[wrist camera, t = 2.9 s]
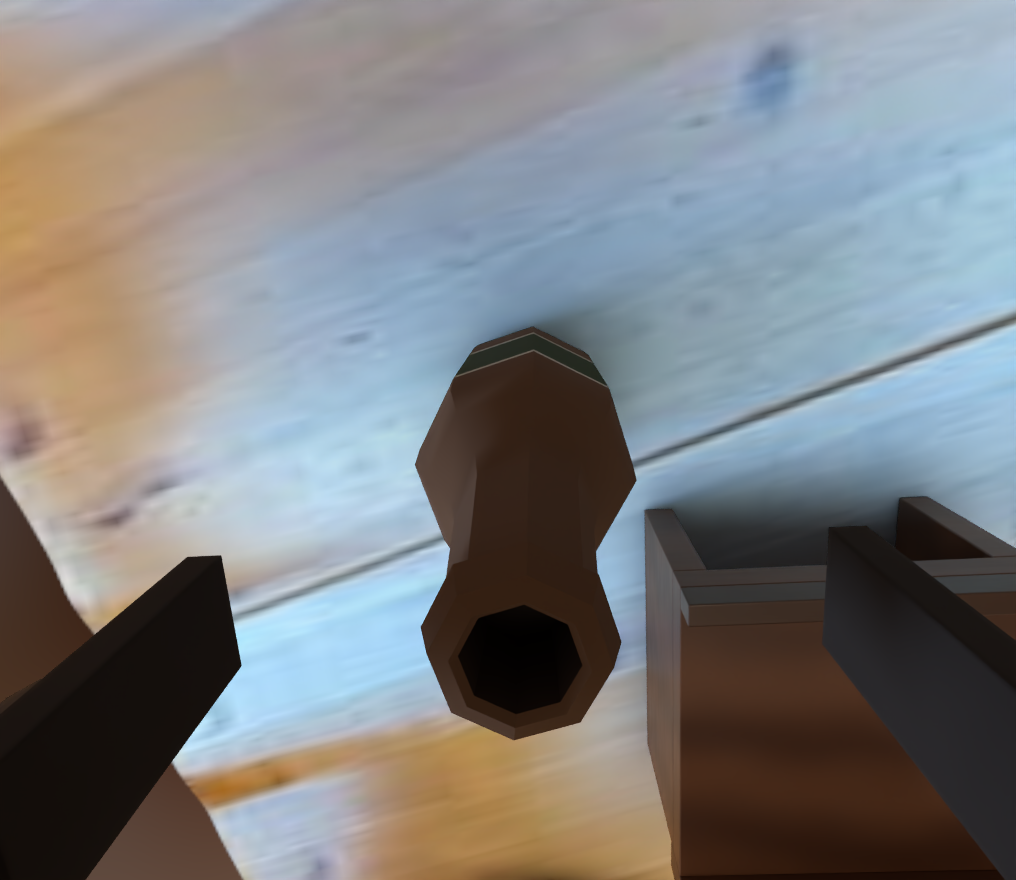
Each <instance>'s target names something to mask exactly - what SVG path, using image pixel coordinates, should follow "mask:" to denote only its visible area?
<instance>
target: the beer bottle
mask: <svg viewBox="0 0 1016 880" xmlns="http://www.w3.org/2000/svg"><path fill="white" fill-rule="evenodd" d="M415 466H416V469H417V471H418V474H419V477H420V479H421V482H422V484H423V487H424V489H425V492H426V494H427V497H428V499H429V502H430V505H431V507H432V510H433V512H434V515H435V517H436V520H437V522H438V525H439V528H440V530H441V533H442V535H443V538H444V540H445V541H446V543H447V544H448V546H449V547H450V553H449V560H448V568H447V575H446V579H445V581H444V583H443V585H442V587H441V589H440V590H439V592H438V594H437V596H436V598H435V600H434V602H433V604H432V606H431V608H430V610H429V612H428V614H427V616H426V618H425V620H424V622H423V624H422V626H421V631H422V635H423V640H424V644H425V649H426V653H427V656H428V658H429V661H430V663H431V665H432V668H433V670H434V672H435V675H436V677H437V680H438V682H439V684H440V687H441V689H442V692H443V694H444V696H445V699H446V701H447V704H448V706H449V708H450V711H451V713H453V714H456V715H458V716H460V717H462V718H465V719H467V720H469V721H471V722H474V723H476V724H478V725H481V726H483V727H485V728H487V729H490V730H492V731H494V732H496V733H499V734H501V735H503V736H505V737H508V738H510V739H512V740H517V739H520V738H524V737H528V736H532V735H535V734H539V733H543V732H547V731H550V730H554V729H558V728H562V727H565V726H569V725H573V724H576V723H580V722H581V721H582V719H583V717H584V716H585V714H586V712H587V711H588V709H589V708H590V706H591V704H592V703H593V701H594V699H595V698H596V696H597V695H598V693H599V691H600V690H601V688H602V686H603V685H604V683H605V681H606V680H607V678H608V677H609V675H610V673H611V672H612V670H613V668H614V666H615V662H616V659H617V655H618V652H619V649H620V645H621V639H620V636H619V633H618V630H617V627H616V624H615V622H614V619H613V616H612V613H611V610H610V607H609V604H608V601H607V598H606V595H605V592H604V589H603V586H602V583H601V580H600V577H599V575H598V573H597V560H596V550H597V549H598V547H599V545H600V543H601V542H602V540H603V538H604V536H605V535H606V533H607V531H608V530H609V528H610V526H611V524H612V523H613V521H614V519H615V517H616V516H617V514H618V512H619V510H620V509H621V507H622V505H623V503H624V502H625V500H626V498H627V496H628V495H629V493H630V491H631V489H632V488H633V486H634V484H635V482H636V481H637V480H636V476H635V472H634V468H633V464H632V461H631V458H630V455H629V451H628V448H627V445H626V442H625V438H624V435H623V432H622V429H621V425H620V422H619V419H618V416H617V412H616V409H615V406H614V403H613V399H612V396H611V393H610V390H609V387H608V386H607V384H606V383H605V381H604V379H603V378H602V376H601V375H600V373H599V371H598V370H597V368H596V367H595V365H594V363H593V362H592V360H591V359H590V357H589V355H587V354H586V353H585V352H583V351H581V350H579V349H577V348H575V347H573V346H571V345H569V344H567V343H565V342H563V341H561V340H559V339H557V338H555V337H553V336H551V335H549V334H547V333H545V332H543V331H541V330H539V329H537V328H535V327H533V326H532V327H530V328H527V329H524V330H521V331H518V332H515V333H512V334H509V335H506V336H503V337H500V338H497V339H494V340H491V341H489V342H486V343H483V344H480V345H478V346H476V347H475V348H474V349H473V350H472V352H471V353H470V355H469V356H468V358H467V359H466V361H465V362H464V364H463V365H462V367H461V368H460V370H459V371H458V372H457V374H456V375H455V377H454V379H453V381H452V383H451V385H450V387H449V389H448V391H447V393H446V395H445V398H444V400H443V402H442V404H441V406H440V408H439V410H438V412H437V414H436V417H435V419H434V421H433V423H432V425H431V427H430V429H429V431H428V433H427V436H426V438H425V440H424V442H423V444H422V446H421V448H420V450H419V454H418V457H417V460H416V463H415Z"/></svg>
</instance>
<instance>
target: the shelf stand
mask: <svg viewBox="0 0 1016 880" xmlns="http://www.w3.org/2000/svg"><path fill="white" fill-rule="evenodd" d="M895 548H896V549H897V550H899V551H900V552H901V553H902V554H904V555H905V556H906V557H908V558H909V559H910V560H912V561H913V562H914V563H915V564H917V565H918V566H919V567H921V568H922V569H923V570H925V571H926V572H927V573H928V574H930V575H931V576H932V577H934V578H935V579H936V580H938V581H939V582H940V583H942V584H943V585H944V586H945V587H947V588H948V589H949V590H951V591H952V592H953V593H955V594H956V595H957V596H958V597H960V598H961V599H962V600H964V601H965V602H966V603H968V604H969V605H970V606H971V607H973V608H974V609H975V610H977V611H978V612H979V613H981V614H982V615H983V616H985V617H986V618H987V619H988V620H990V621H991V622H992V623H994V624H995V625H996V626H998V627H999V628H1000V629H1001V630H1003V631H1004V632H1005V633H1007V634H1008V635H1009V636H1011V637H1012V638H1013V639H1014V640H1016V548H1014V547H1013V546H1011V545H1009V544H1007V543H1006V542H1004V541H1002V540H1001V539H999V538H997V537H995V536H994V535H992V534H990V533H989V532H987V531H985V530H984V529H982V528H980V527H978V526H977V525H975V524H973V523H972V522H970V521H968V520H967V519H965V518H963V517H961V516H960V515H958V514H956V513H955V512H953V511H951V510H950V509H948V508H946V507H944V506H943V505H941V504H939V503H938V502H936V501H934V500H932V499H931V498H929V497H908V498H900V500H899V511H898V522H897V533H896V544H895ZM826 570H827V565H811V566H787V567H764V568H741V569H718V570H707V569H706V567H705V565H704V563H703V562H702V560H701V558H700V557H699V555H698V553H697V551H696V550H695V548H694V546H693V544H692V543H691V541H690V539H689V537H688V536H687V534H686V532H685V530H684V529H683V527H682V525H681V523H680V522H679V520H678V518H677V516H676V515H675V513H674V511H673V510H672V509H653V510H645V577H646V655H647V733H648V747H649V751H650V755H651V759H652V763H653V768H654V772H655V776H656V780H657V784H658V788H659V792H660V796H661V801H662V805H663V809H664V813H665V817H666V821H667V825H668V829H669V834H670V838H671V866H672V870H673V874H674V879H675V880H1005V879H1004V878H1003V877H1002V875H1001V874H1000V873H999V872H998V870H997V869H996V868H995V866H994V865H993V864H992V863H991V861H990V860H989V859H988V857H987V856H986V855H985V853H984V852H983V851H982V850H981V848H980V847H979V846H978V844H977V843H976V842H975V841H974V839H973V838H972V837H971V835H970V834H969V833H968V832H967V830H966V829H965V828H964V826H963V825H962V824H961V823H960V821H959V820H958V819H957V817H956V816H955V815H954V813H953V812H952V811H951V810H950V808H949V807H948V806H947V804H946V803H945V802H944V801H943V799H942V798H941V797H940V795H939V794H938V793H937V792H936V790H935V789H934V788H933V786H932V785H931V784H930V783H929V781H928V780H927V779H926V777H925V776H924V775H923V773H922V772H921V771H920V770H919V768H918V767H917V766H916V764H915V763H914V762H913V761H912V759H911V758H910V757H909V755H908V754H907V753H906V752H905V750H904V749H903V748H902V746H901V745H900V744H899V743H898V741H897V740H896V739H895V737H894V736H893V735H892V733H891V732H890V731H889V730H888V728H887V727H886V726H885V724H884V723H883V722H882V721H881V719H880V718H879V717H878V715H877V714H876V713H875V712H874V710H873V709H872V708H871V706H870V705H869V704H868V703H867V701H866V700H865V699H864V697H863V696H862V695H861V693H860V692H859V691H858V690H857V688H856V687H855V686H854V684H853V683H852V682H851V681H850V679H849V678H848V677H847V675H846V674H845V673H844V672H843V670H842V669H841V668H840V666H839V665H838V664H837V663H836V661H835V660H834V659H833V657H832V656H831V655H830V653H829V652H828V651H827V650H826V648H825V647H824V646H823V644H822V637H823V620H824V603H825V586H826Z"/></svg>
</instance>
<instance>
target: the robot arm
mask: <svg viewBox="0 0 1016 880" xmlns="http://www.w3.org/2000/svg"><path fill="white" fill-rule="evenodd" d="M822 644H823V646H824V647H825V648H826V650H827V651H828V652H829V653H830V655H831V656H832V657H833V659H834V660H835V661H836V663H837V664H838V665H839V666H840V668H841V669H842V670H843V672H844V673H845V674H846V675H847V677H848V678H849V679H850V681H851V682H852V683H853V684H854V686H855V687H856V688H857V690H858V691H859V692H860V693H861V695H862V696H863V697H864V699H865V700H866V701H867V703H868V704H869V705H870V706H871V708H872V709H873V710H874V712H875V713H876V714H877V715H878V717H879V718H880V719H881V721H882V722H883V723H884V724H885V726H886V727H887V728H888V730H889V731H890V732H891V733H892V735H893V736H894V737H895V739H896V740H897V741H898V743H899V744H900V745H901V746H902V748H903V749H904V750H905V752H906V753H907V754H908V755H909V757H910V758H911V759H912V761H913V762H914V763H915V764H916V766H917V767H918V768H919V770H920V771H921V772H922V773H923V775H924V776H925V777H926V779H927V780H928V781H929V783H930V784H931V785H932V786H933V788H934V789H935V790H936V792H937V793H938V794H939V795H940V797H941V798H942V799H943V801H944V802H945V803H946V804H947V806H948V807H949V808H950V810H951V811H952V812H953V813H954V815H955V816H956V817H957V819H958V820H959V821H960V823H961V824H962V825H963V826H964V828H965V829H966V830H967V832H968V833H969V834H970V835H971V837H972V838H973V839H974V841H975V842H976V843H977V844H978V846H979V847H980V848H981V850H982V851H983V852H984V853H985V855H986V856H987V857H988V859H989V860H990V861H991V863H992V864H993V865H994V866H995V868H996V869H997V870H998V872H999V873H1000V874H1001V875H1002V877H1003V878H1004V879H1005V880H1016V640H1014V639H1013V638H1012V637H1011V636H1009V635H1008V634H1007V633H1005V632H1004V631H1003V630H1001V629H1000V628H999V627H998V626H996V625H995V624H994V623H992V622H991V621H990V620H988V619H987V618H986V617H985V616H983V615H982V614H981V613H979V612H978V611H977V610H975V609H974V608H973V607H971V606H970V605H969V604H968V603H966V602H965V601H964V600H962V599H961V598H960V597H958V596H957V595H956V594H955V593H953V592H952V591H951V590H949V589H948V588H947V587H945V586H944V585H943V584H942V583H940V582H939V581H938V580H936V579H935V578H934V577H932V576H931V575H930V574H928V573H927V572H926V571H925V570H923V569H922V568H921V567H919V566H918V565H917V564H915V563H914V562H913V561H912V560H910V559H909V558H908V557H906V556H905V555H904V554H902V553H901V552H900V551H899V550H897V549H896V548H895V547H893V546H892V545H891V544H889V543H888V542H887V541H885V540H884V539H883V538H882V537H880V536H879V535H878V534H876V533H875V532H874V531H872V530H871V529H870V528H869V527H867V526H848V527H829V536H828V553H827V570H826V586H825V603H824V620H823V637H822ZM240 667H241V660H240V655H239V649H238V644H237V639H236V633H235V628H234V622H233V617H232V611H231V606H230V601H229V595H228V590H227V584H226V579H225V573H224V568H223V563H222V557H221V555H220V556H198V557H187V558H186V559H184V560H183V561H182V562H181V563H180V564H178V565H177V566H176V567H175V568H174V569H172V570H171V571H170V572H169V573H168V574H166V575H165V576H164V577H163V578H162V579H161V580H159V581H158V582H157V583H156V584H155V585H153V586H152V587H151V588H150V589H149V590H147V591H146V592H145V593H144V594H143V595H141V596H140V597H139V598H138V599H137V600H135V601H134V602H133V603H132V604H131V605H130V606H128V607H127V608H126V609H125V610H124V611H122V612H121V613H120V614H119V615H118V616H116V617H115V618H114V619H113V620H112V621H110V622H109V623H108V624H107V625H106V626H104V627H103V628H102V629H101V630H100V631H99V632H97V633H96V634H95V635H94V636H93V637H91V638H90V639H89V640H88V641H87V642H85V643H84V644H83V645H82V646H81V647H80V648H78V649H77V650H76V651H75V652H74V653H72V654H71V655H70V656H69V657H68V658H66V659H65V660H64V661H63V662H62V663H60V664H59V665H58V666H57V667H56V668H54V669H53V670H52V671H51V672H50V673H48V674H47V675H46V676H45V677H44V678H43V679H40V680H38V681H36V682H34V683H32V684H31V685H29V686H27V687H25V688H24V689H22V690H20V691H18V692H16V693H15V694H13V695H11V696H9V697H7V698H6V699H5V700H4V701H2V702H1V703H0V880H86V878H87V877H88V876H89V874H90V873H91V871H92V870H93V869H94V867H95V866H96V865H97V863H98V862H99V861H100V859H101V858H102V857H103V855H104V854H105V852H106V851H107V850H108V848H109V847H110V846H111V844H112V843H113V841H114V840H115V839H116V837H117V836H118V835H119V833H120V832H121V831H122V829H123V828H124V826H125V825H126V824H127V822H128V821H129V819H130V818H131V817H132V815H133V814H134V813H135V811H136V810H137V809H138V807H139V806H140V804H141V803H142V802H143V800H144V799H145V798H146V796H147V795H148V793H149V792H150V791H151V789H152V788H153V787H154V785H155V784H156V783H157V781H158V780H159V778H160V777H161V776H162V774H163V773H164V772H165V770H166V769H167V767H168V766H169V765H170V763H171V762H172V761H173V759H174V758H175V756H176V755H177V754H178V752H179V751H180V750H181V748H182V747H183V745H184V744H185V743H186V741H187V740H188V739H189V737H190V736H191V735H192V733H193V732H194V730H195V729H196V728H197V726H198V725H199V724H200V722H201V721H202V719H203V718H204V717H205V715H206V714H207V713H208V711H209V710H210V708H211V707H212V706H213V704H214V703H215V702H216V700H217V699H218V697H219V696H220V695H221V693H222V692H223V691H224V689H225V688H226V687H227V685H228V684H229V682H230V681H231V680H232V678H233V677H234V676H235V674H236V673H237V671H238V670H239V669H240Z"/></svg>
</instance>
